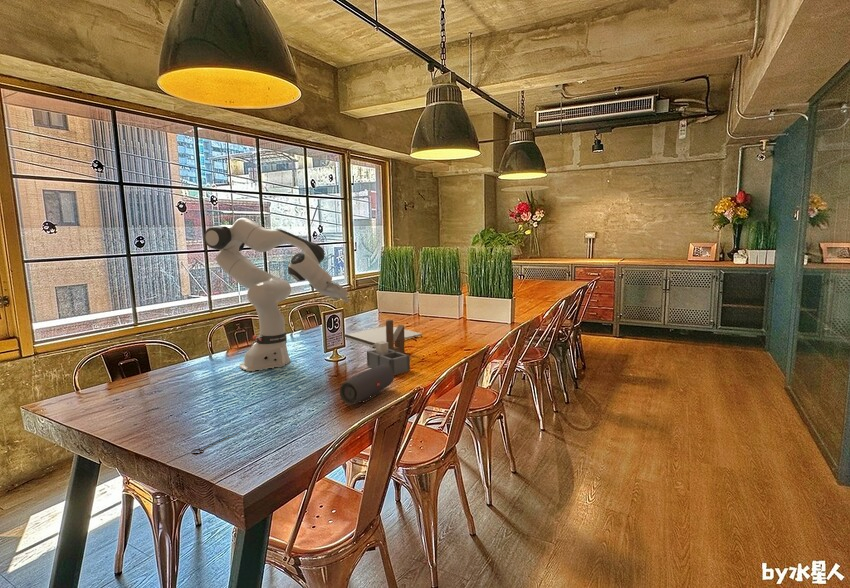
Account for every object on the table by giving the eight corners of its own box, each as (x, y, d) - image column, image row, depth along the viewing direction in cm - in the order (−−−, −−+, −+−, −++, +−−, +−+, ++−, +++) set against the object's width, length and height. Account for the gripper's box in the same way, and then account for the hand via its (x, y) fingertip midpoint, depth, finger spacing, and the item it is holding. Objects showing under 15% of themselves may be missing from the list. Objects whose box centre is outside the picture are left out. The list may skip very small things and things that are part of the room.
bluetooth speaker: (359, 410, 157) (358, 382, 155) (338, 405, 161) (337, 378, 160) (395, 389, 176) (395, 365, 175) (376, 386, 181) (375, 361, 179)
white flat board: (372, 344, 238) (340, 334, 260) (372, 349, 238) (340, 338, 261) (421, 333, 261) (388, 325, 284) (421, 337, 261) (388, 329, 284)
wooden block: (404, 352, 228) (404, 317, 225) (390, 357, 220) (389, 321, 217) (399, 351, 230) (398, 316, 228) (384, 356, 222) (384, 320, 219)
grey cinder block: (391, 376, 193) (391, 360, 192) (367, 366, 206) (366, 351, 205) (409, 370, 199) (409, 355, 198) (385, 361, 213) (384, 347, 212)
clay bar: (381, 365, 203) (380, 344, 202) (376, 363, 206) (375, 342, 205) (388, 363, 206) (388, 342, 204) (383, 362, 209) (383, 340, 207)
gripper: (338, 277, 194) (358, 297, 202) (315, 274, 210) (335, 293, 217) (329, 288, 192) (350, 308, 200) (307, 284, 207) (327, 303, 215)
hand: (342, 300), depth 209 cm, fingers open, 8 cm apart
